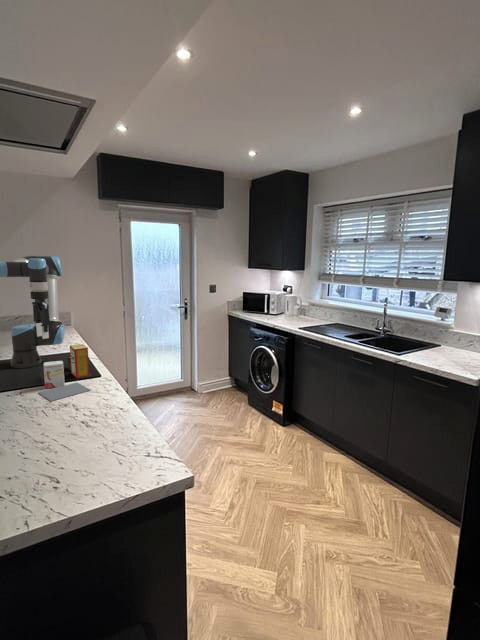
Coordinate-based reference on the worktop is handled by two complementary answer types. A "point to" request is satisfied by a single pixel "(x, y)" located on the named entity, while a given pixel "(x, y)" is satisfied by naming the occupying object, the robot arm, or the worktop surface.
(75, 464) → the worktop surface
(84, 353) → the baking soda box
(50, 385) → the ink box
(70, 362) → the box
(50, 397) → the mat
